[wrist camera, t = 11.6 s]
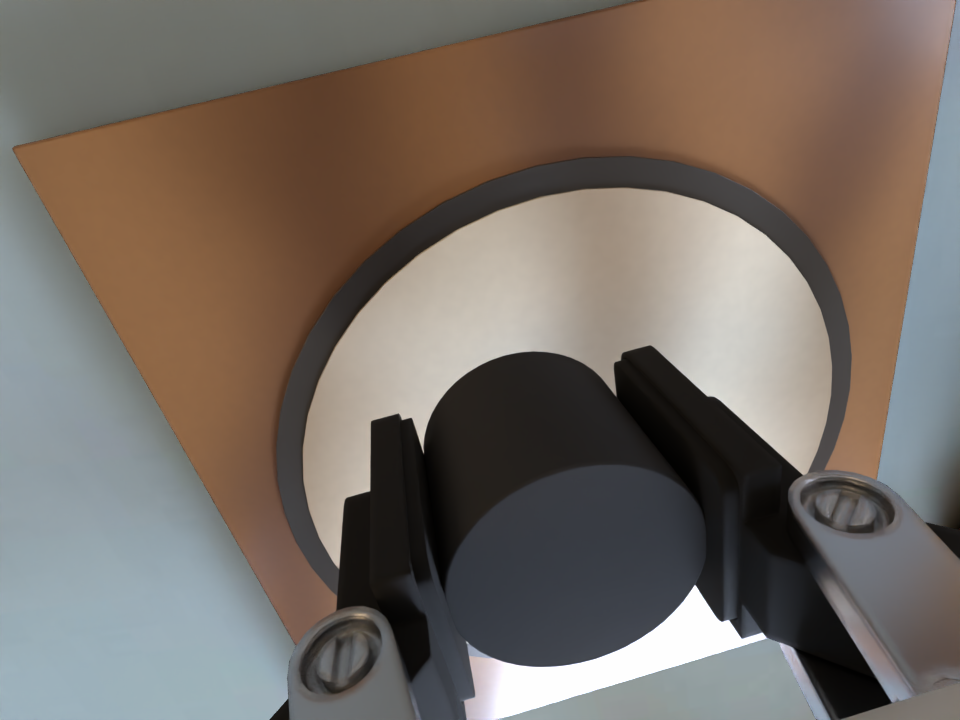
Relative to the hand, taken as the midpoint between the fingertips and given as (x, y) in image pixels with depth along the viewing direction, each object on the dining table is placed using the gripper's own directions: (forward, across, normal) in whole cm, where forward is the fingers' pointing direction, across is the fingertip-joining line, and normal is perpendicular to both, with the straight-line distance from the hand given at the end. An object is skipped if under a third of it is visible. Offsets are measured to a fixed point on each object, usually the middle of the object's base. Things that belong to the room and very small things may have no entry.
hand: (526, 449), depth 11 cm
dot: (0, 0, 0) cm, 0 cm away
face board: (+4, -2, +3) cm, 5 cm away
